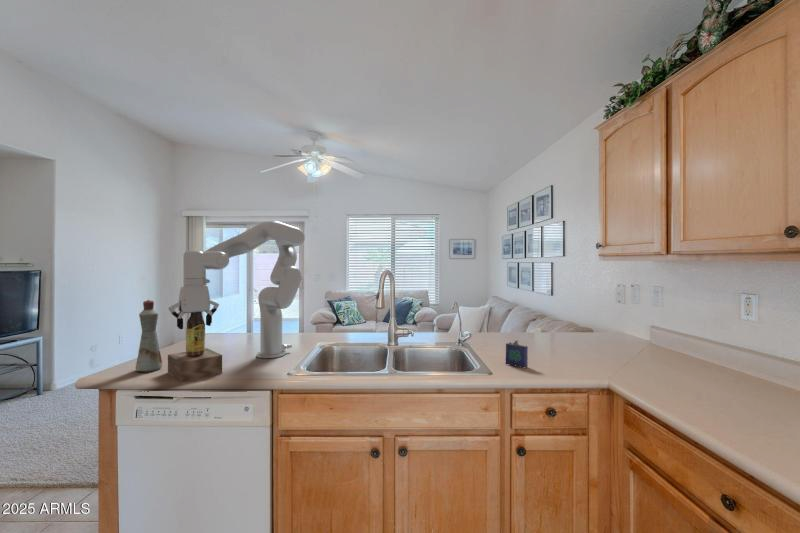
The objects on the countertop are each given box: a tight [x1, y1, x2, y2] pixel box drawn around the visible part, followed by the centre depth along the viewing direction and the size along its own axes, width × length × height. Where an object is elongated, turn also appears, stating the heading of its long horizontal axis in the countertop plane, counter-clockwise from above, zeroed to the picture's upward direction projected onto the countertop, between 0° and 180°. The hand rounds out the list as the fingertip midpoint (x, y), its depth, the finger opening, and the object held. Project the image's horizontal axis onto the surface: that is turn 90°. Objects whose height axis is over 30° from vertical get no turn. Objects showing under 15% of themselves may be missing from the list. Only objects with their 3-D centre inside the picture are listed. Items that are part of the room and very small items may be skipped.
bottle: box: [135, 299, 163, 373], centre depth 139 cm, size 9×9×28 cm
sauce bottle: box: [185, 312, 206, 356], centre depth 135 cm, size 7×6×20 cm
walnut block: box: [167, 347, 223, 383], centre depth 135 cm, size 14×16×7 cm
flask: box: [505, 339, 529, 368], centre depth 146 cm, size 9×3×11 cm, turn 50°
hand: (194, 327), depth 135 cm, fingers open, 9 cm apart
